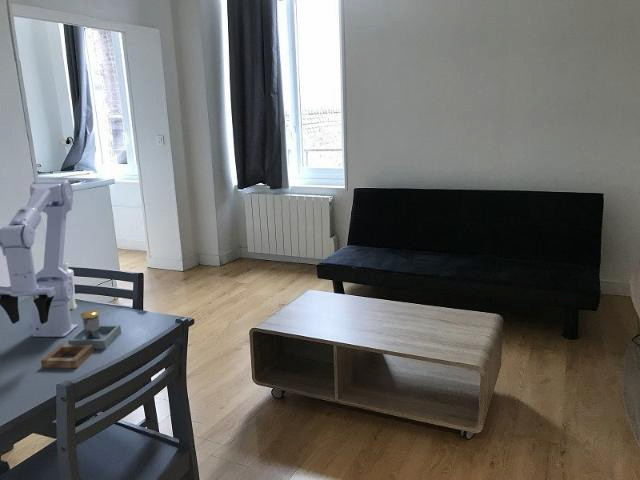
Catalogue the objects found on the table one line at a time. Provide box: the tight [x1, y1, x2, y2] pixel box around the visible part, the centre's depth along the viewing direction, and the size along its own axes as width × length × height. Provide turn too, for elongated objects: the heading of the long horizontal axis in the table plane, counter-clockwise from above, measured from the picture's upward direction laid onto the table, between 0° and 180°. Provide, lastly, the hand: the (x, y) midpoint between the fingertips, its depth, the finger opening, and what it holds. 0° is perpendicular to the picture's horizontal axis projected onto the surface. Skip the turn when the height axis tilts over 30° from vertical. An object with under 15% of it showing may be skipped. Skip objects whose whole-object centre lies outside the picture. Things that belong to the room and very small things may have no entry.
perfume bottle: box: [63, 262, 78, 311], centre depth 169 cm, size 5×4×15 cm
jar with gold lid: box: [80, 309, 101, 339], centre depth 144 cm, size 5×5×8 cm
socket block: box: [40, 343, 95, 369], centre depth 135 cm, size 9×9×2 cm
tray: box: [67, 324, 122, 350], centre depth 146 cm, size 10×10×2 cm
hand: (30, 322), depth 136 cm, fingers open, 7 cm apart
